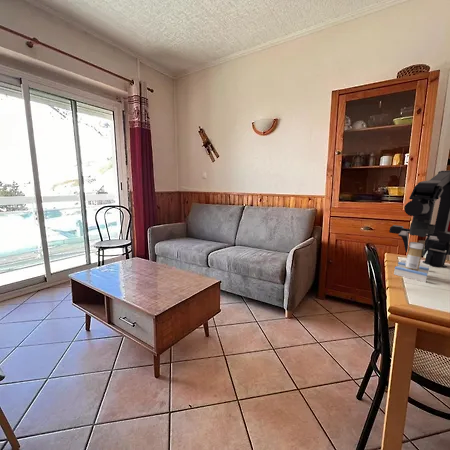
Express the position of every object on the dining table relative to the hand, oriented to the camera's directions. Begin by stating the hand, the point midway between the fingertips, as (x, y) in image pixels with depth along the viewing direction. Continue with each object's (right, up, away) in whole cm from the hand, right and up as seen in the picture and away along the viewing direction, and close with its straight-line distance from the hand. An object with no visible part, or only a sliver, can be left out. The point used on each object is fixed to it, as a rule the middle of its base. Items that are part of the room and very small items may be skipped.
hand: (414, 253), depth 95 cm
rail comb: (+2, -8, +5) cm, 10 cm away
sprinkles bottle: (-1, -9, +2) cm, 9 cm away
